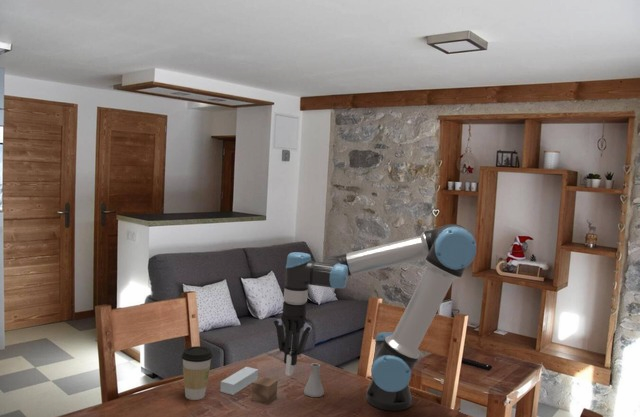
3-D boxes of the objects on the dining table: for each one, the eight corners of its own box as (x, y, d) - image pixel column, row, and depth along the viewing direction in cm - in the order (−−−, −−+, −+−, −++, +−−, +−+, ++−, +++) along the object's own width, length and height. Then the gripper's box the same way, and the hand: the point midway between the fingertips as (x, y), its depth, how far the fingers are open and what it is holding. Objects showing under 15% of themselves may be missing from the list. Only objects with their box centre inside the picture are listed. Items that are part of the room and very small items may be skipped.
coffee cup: (216, 394, 177) (219, 349, 176) (197, 405, 168) (200, 358, 167) (192, 387, 181) (194, 343, 180) (173, 397, 172) (175, 351, 171)
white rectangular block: (257, 379, 192) (258, 369, 192) (233, 395, 177) (233, 384, 177) (245, 376, 194) (246, 366, 194) (220, 391, 179) (220, 381, 179)
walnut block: (276, 398, 178) (277, 380, 177) (267, 404, 172) (268, 386, 172) (260, 393, 180) (261, 376, 180) (251, 400, 174) (252, 382, 174)
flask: (322, 399, 179) (324, 370, 178) (301, 396, 180) (302, 367, 180) (326, 390, 186) (328, 362, 185) (305, 387, 187) (307, 359, 187)
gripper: (318, 302, 171) (312, 375, 173) (282, 295, 176) (276, 366, 178) (308, 307, 164) (302, 382, 166) (271, 300, 169) (265, 373, 171)
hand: (289, 374), depth 172 cm, fingers closed
